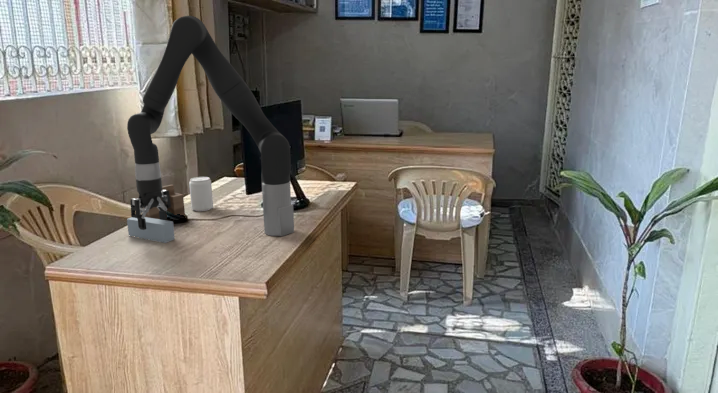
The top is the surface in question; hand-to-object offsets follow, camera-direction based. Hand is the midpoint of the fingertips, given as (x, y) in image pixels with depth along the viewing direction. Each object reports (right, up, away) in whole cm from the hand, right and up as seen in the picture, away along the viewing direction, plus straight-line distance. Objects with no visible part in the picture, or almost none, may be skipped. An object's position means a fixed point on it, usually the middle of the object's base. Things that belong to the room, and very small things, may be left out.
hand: (153, 225), depth 171 cm
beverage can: (+6, +4, +34) cm, 35 cm away
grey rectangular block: (-1, -4, +2) cm, 5 cm away
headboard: (-4, +1, +19) cm, 20 cm away
